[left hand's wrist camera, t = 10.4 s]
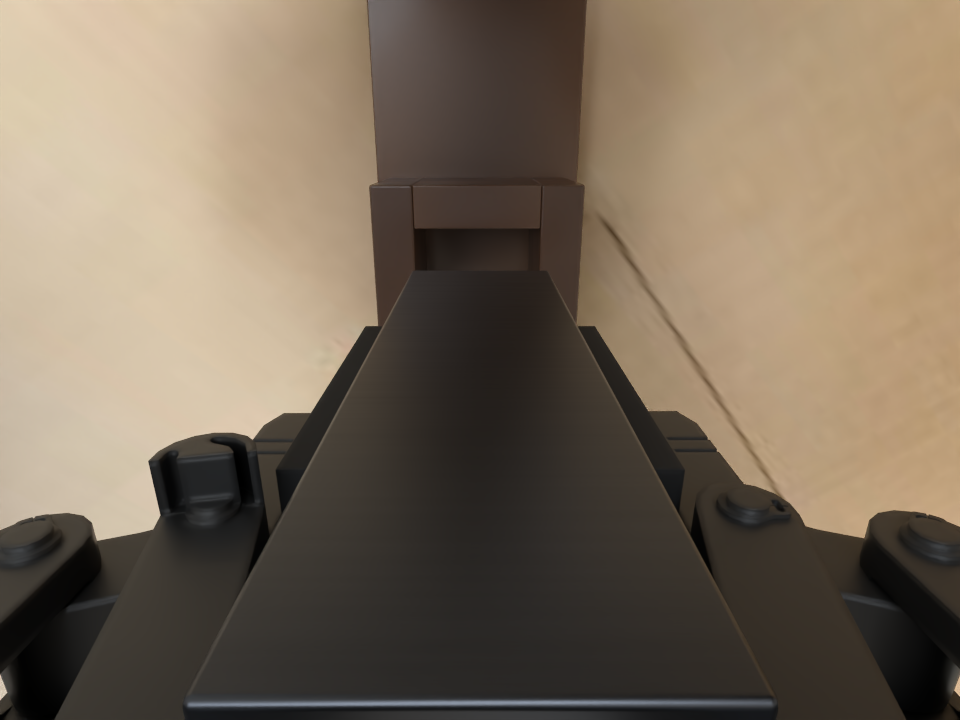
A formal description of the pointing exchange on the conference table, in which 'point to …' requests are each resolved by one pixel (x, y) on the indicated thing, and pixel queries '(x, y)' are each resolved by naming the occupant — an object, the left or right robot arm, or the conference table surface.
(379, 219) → the holder
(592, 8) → the conference table surface
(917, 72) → the conference table surface
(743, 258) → the conference table surface
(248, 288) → the conference table surface
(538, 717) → the peg
